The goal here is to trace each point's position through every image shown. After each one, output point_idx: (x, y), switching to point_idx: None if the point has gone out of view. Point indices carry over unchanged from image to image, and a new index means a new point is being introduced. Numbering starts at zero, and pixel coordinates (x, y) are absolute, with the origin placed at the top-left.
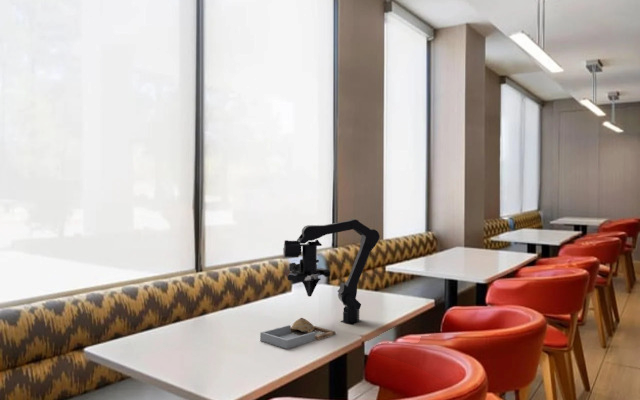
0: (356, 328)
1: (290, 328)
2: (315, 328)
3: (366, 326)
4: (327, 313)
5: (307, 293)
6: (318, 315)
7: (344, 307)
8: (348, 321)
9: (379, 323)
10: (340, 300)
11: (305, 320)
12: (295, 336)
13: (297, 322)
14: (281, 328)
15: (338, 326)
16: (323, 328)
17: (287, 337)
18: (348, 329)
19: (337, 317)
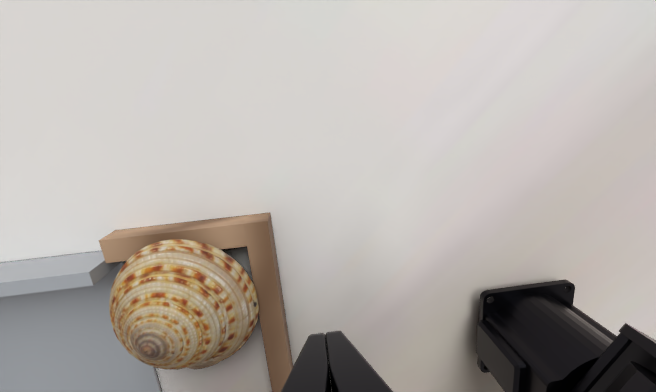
0: (468, 381)
1: (106, 274)
2: (262, 330)
3: None
4: (642, 18)
5: (298, 371)
6: (557, 18)
7: (559, 381)
8: (483, 360)
9: None
10: (624, 373)
11: (174, 361)
12: (110, 332)
13: (119, 334)
14: (7, 293)
15: (434, 307)
16: (288, 368)
17: (58, 323)
18: (427, 373)
19: (589, 155)
